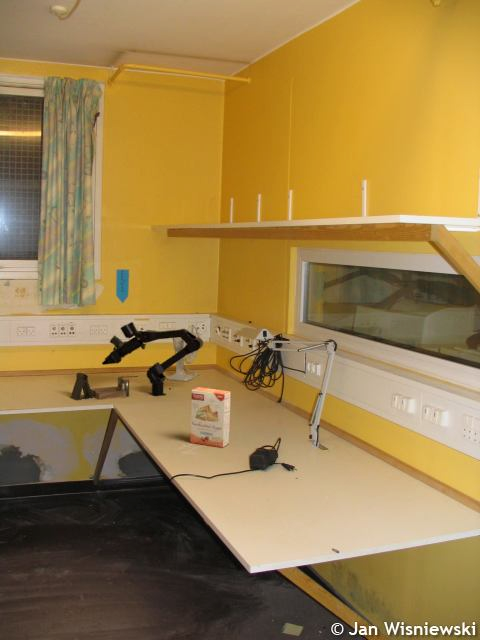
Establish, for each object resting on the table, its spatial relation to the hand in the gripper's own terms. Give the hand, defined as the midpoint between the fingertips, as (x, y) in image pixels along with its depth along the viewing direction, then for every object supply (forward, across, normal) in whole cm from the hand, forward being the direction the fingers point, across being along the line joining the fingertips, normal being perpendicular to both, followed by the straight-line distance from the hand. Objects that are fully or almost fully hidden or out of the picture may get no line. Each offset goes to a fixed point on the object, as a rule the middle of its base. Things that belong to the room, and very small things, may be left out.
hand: (103, 361), depth 352 cm
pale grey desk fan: (-22, -42, +35) cm, 59 cm away
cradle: (+5, +9, +14) cm, 18 cm away
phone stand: (+15, +15, +8) cm, 23 cm away
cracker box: (-39, +87, +37) cm, 103 cm away
